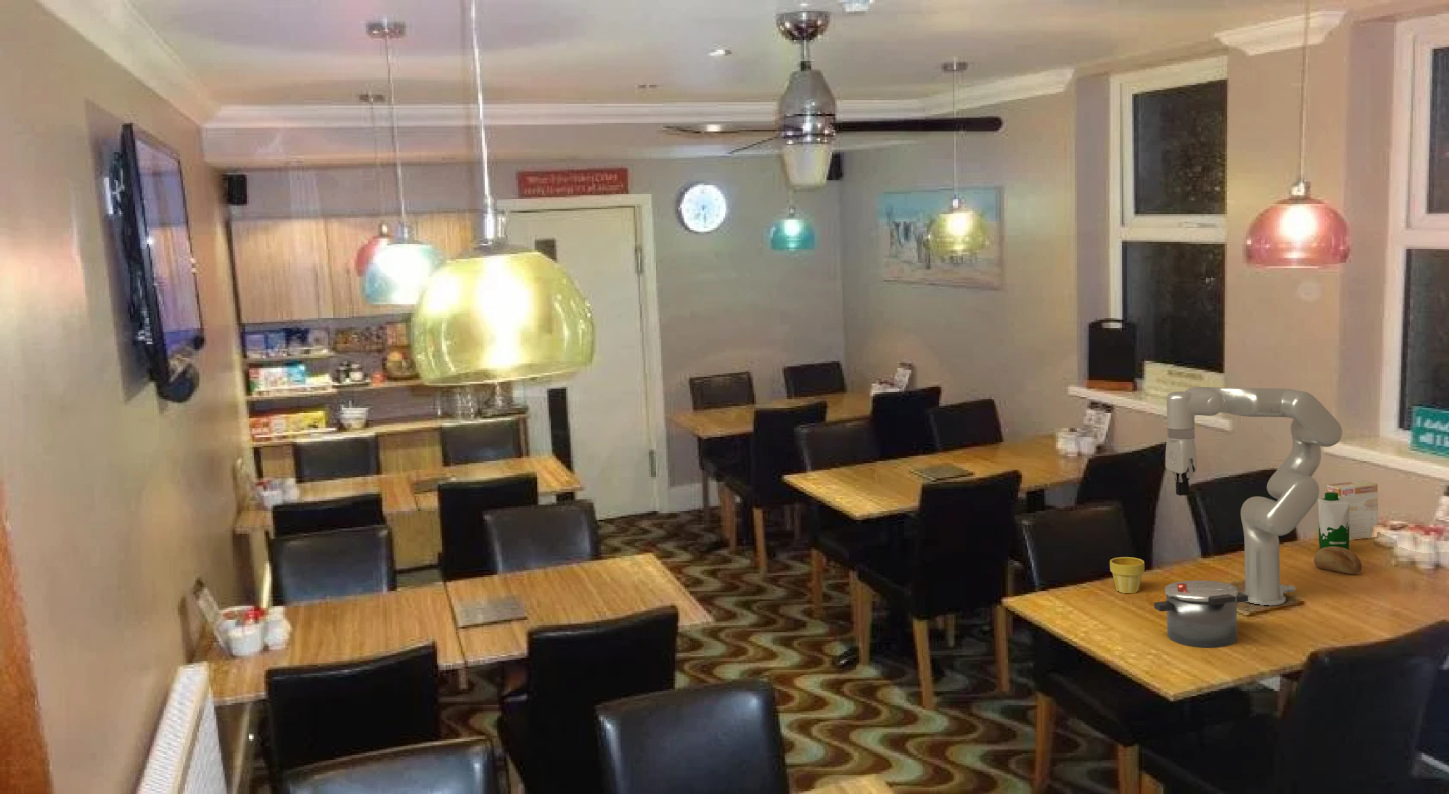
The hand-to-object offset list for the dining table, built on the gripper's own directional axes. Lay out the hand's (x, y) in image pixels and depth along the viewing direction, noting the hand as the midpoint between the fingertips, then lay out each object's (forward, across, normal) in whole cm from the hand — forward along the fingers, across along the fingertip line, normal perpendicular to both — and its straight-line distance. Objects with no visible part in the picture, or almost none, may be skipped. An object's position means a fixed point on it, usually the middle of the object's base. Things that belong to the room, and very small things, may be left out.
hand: (1182, 494), depth 335 cm
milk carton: (+35, -37, +75) cm, 91 cm away
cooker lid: (+23, +24, -8) cm, 34 cm away
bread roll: (+35, -18, +62) cm, 74 cm away
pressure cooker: (+35, +23, -8) cm, 43 cm away
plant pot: (+35, -22, -7) cm, 42 cm away
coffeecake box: (+35, -51, +92) cm, 111 cm away
